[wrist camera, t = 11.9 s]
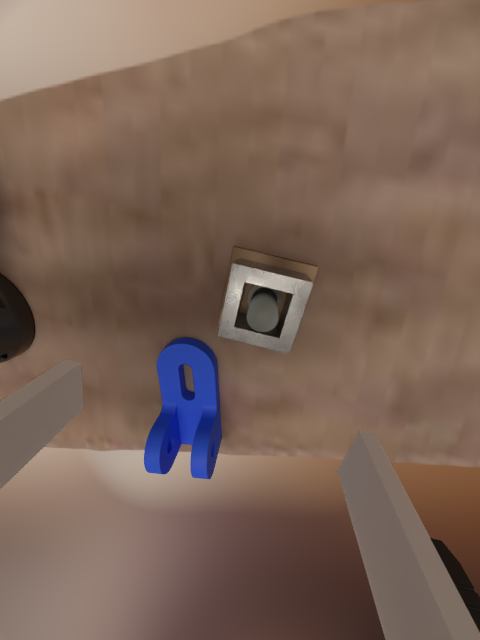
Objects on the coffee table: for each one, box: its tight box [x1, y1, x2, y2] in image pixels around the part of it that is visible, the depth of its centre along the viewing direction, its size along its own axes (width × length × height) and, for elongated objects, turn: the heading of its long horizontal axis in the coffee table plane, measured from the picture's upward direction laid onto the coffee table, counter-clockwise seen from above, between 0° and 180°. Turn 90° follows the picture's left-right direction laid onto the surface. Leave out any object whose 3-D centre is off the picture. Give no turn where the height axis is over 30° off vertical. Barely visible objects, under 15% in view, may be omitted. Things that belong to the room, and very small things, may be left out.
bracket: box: [144, 338, 222, 479], centre depth 33 cm, size 18×8×9 cm, turn 1°
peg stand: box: [218, 246, 318, 332], centre depth 26 cm, size 10×10×8 cm
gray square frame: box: [218, 258, 313, 354], centre depth 27 cm, size 8×8×5 cm
